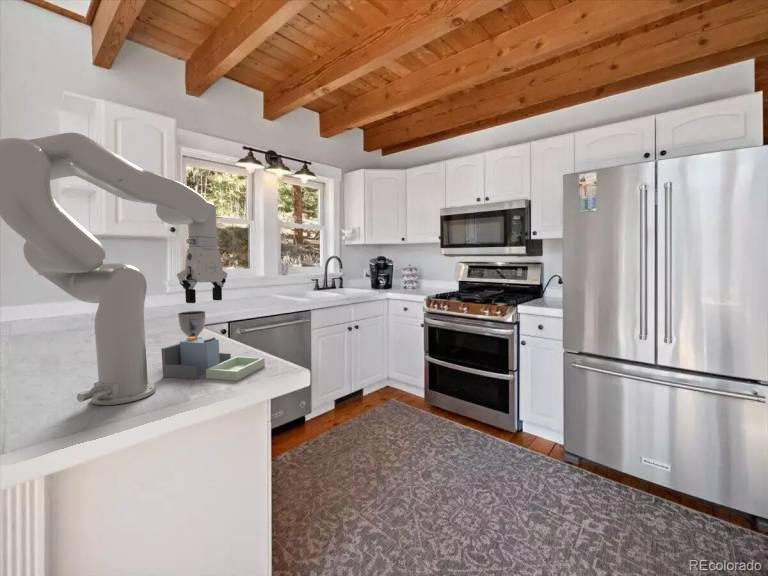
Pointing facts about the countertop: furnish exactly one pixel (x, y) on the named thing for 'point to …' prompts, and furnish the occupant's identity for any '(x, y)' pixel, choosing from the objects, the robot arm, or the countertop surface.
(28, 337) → the countertop surface
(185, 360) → the slate blue upright block
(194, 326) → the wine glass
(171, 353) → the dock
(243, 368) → the tray
